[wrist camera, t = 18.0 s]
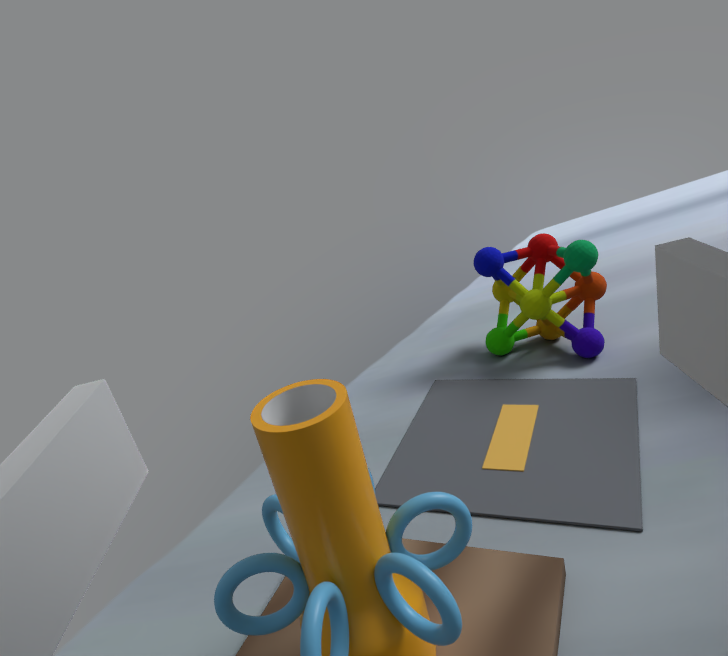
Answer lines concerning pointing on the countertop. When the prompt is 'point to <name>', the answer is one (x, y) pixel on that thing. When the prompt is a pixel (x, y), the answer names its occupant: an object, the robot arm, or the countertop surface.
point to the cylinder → (341, 538)
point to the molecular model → (545, 294)
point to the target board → (468, 605)
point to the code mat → (525, 450)
